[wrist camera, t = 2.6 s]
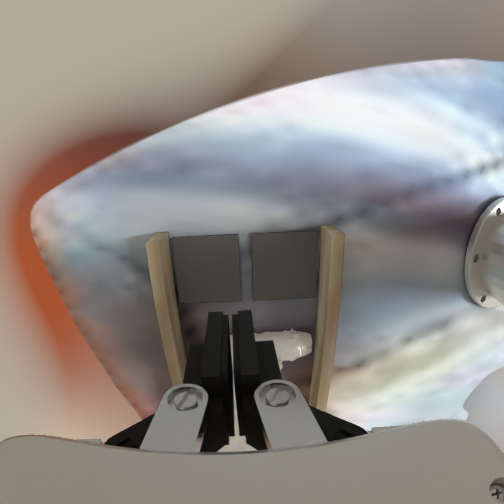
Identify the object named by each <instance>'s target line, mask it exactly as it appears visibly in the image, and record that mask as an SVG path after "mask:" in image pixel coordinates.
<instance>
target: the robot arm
mask: <svg viewBox="0 0 504 504" xmlns="http://www.w3.org/2000/svg"><path fill="white" fill-rule="evenodd" d="M464 272H465V283H466V287H467V290H468V293H469V295H470V296H471V298H472V299H473V300H474V301H475V302H476V303H478V304H479V305H480V306H482V307H485V308H494V307H498V306H500V305H502V304H503V305H504V197H502V198H499V199H497V200H495V201H494V202H492V203H491V204H490V205H489V206H488V207H487V208H486V209H485V211H484V212H483V213H482V215H481V216H480V218H479V219H478V221H477V223H476V225H475V227H474V230H473V232H472V234H471V237H470V240H469V244H468V247H467V252H466V257H465V269H464ZM232 327H233V366H232V355H231V344H230V332H229V319H228V315H223V312H209V314H208V321H207V329H206V337H205V344H191V345H190V347H189V352H188V357H187V363H186V368H185V373H184V379H183V384H180V385H176V386H174V387H172V388H170V389H169V390H168V391H166V393H165V394H164V396H163V398H162V400H161V402H160V404H159V407H158V409H157V411H156V413H154V414H153V415H151V416H149V417H147V418H145V419H144V420H142V421H140V422H138V423H136V424H134V425H133V426H131V427H129V428H127V429H125V430H123V431H121V432H120V433H118V434H116V435H114V436H112V437H111V438H109V439H108V440H107V441H106V442H102V441H101V440H100V439H91V440H90V439H86V440H73V439H67V438H62V437H54V436H46V435H22V436H21V435H20V436H15V437H10V438H7V439H5V440H3V441H2V442H0V504H504V453H503V452H502V451H501V449H500V448H499V447H498V446H497V445H496V443H495V442H494V441H493V440H492V439H491V438H490V437H489V436H488V435H487V434H486V433H485V432H484V431H483V430H482V429H481V428H479V427H478V426H476V425H475V424H473V423H471V422H469V421H465V420H458V419H438V420H430V421H422V422H417V423H412V424H408V425H401V426H390V427H375V428H372V430H371V431H365V430H364V429H363V428H361V427H359V426H357V425H355V424H352V423H350V422H347V421H345V420H342V419H340V418H338V417H335V416H333V415H331V414H328V413H326V412H324V411H321V410H319V409H317V408H315V407H312V406H310V405H308V404H307V402H306V400H305V399H304V397H303V395H302V393H301V391H300V389H299V388H298V387H297V386H296V385H295V384H293V383H292V382H289V381H286V380H282V377H281V372H280V368H279V363H278V359H277V355H276V350H275V346H274V342H273V340H268V341H255V335H254V328H253V320H252V313H251V310H243V311H238V314H235V315H232ZM233 374H234V387H235V397H236V407H237V417H238V426H239V436H245V437H246V444H248V445H250V446H252V447H253V448H255V449H256V450H255V451H238V452H219V450H220V449H221V448H222V447H224V446H225V445H229V437H233V436H235V427H234V392H233Z"/></svg>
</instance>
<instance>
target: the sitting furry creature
mask: <svg viewBox="0 0 504 504" xmlns="http://www.w3.org/2000/svg"><path fill="white" fill-rule="evenodd" d="M254 335H255V341H268V340H273V342H274V346H275V350H276V355H277V359H278V363H279V368H280V372H281V369H282V367H283V365H282V362H283V360H284V361H287V360H289V361H294V360H296V359H297V358H300V357H302V356H305V355H307V354H309V353H311V352H312V347H311V346H312V338H311V335H310V334H309V333H306V332H303V331H295V330H294V329H291V330H290V331H286V330H284V331H281V332H277V331H276V332H266V331H265V332H263V333H259V334H257V333H254ZM230 344H231V355H232V366H233V335H230ZM233 392H234V427H235V436H233V437H229V445H225V446H224V447H222V448H221V449H220V450H219V452H238V451H255V450H256V449H255V448H253V447H252V446H250V445H248V444H246V437H245V436H239V426H238V417H237V407H236V397H235V387H234V374H233Z"/></svg>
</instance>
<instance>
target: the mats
mask: <svg viewBox="0 0 504 504" xmlns="http://www.w3.org/2000/svg"><path fill="white" fill-rule="evenodd" d="M251 243H252V270H253V297H254V301H256V300H275V299H292V298H308V297H316V277H317V248H318V232H317V231H302V232H275V233H251ZM172 246H173V255H174V264H175V272H176V280H177V288H178V295H179V302H180V303H204V302H233V301H242V299H241V280H240V260H239V240H238V234H227V235H206V236H186V237H172Z"/></svg>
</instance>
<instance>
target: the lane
mask: <svg viewBox="0 0 504 504" xmlns="http://www.w3.org/2000/svg"><path fill="white" fill-rule="evenodd" d="M344 238H345V234H344V233H343V232H341V231H340V230H339V229H337V228H336V227H335V226H333V225H321V236H320V267H319V289H318V306H317V322H316V335H315V348H314V359H313V370H312V380H311V389H310V398H309V405H310V406H312V407H315V408H317V409H319V410H321V411H324V412H326V406H327V400H328V394H329V388H330V381H331V375H332V368H333V360H334V353H335V345H336V337H337V328H338V318H339V308H340V298H341V286H342V272H343V257H344ZM145 244H146V252H147V259H148V266H149V273H150V279H151V285H152V291H153V297H154V303H155V308H156V314H157V319H158V324H159V329H160V334H161V339H162V344H163V349H164V353H165V358H166V362H167V366H168V370H169V375H170V379H171V383H172V387H174V386H176V385H180V384H183V379H184V373H185V368H186V363H187V359H186V354H185V348H184V343H183V337H182V331H181V325H180V319H179V312H178V306H177V299H176V292H175V285H174V277H173V269H172V261H171V253H170V244H169V234H168V232H158V233H155V234H154V235H153V236H152V237H151V238H150V239H149V240H148V241H147V242H146V243H145Z"/></svg>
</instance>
